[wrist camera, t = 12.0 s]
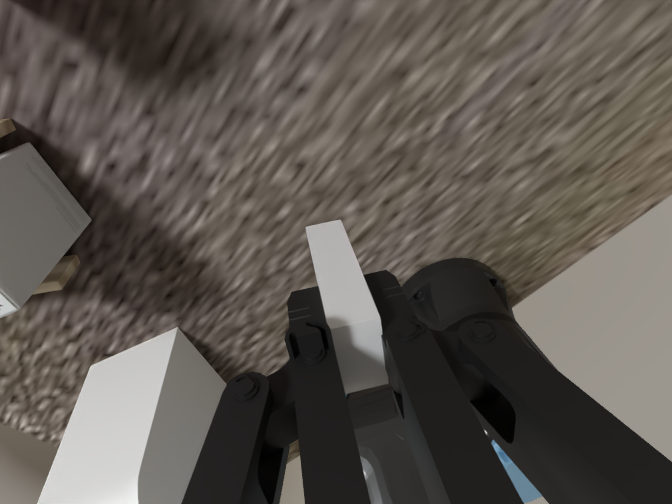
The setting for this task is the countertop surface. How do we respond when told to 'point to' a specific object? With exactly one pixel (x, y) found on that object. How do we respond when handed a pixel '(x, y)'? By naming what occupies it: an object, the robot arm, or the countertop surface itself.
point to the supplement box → (32, 224)
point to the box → (66, 263)
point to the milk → (137, 426)
